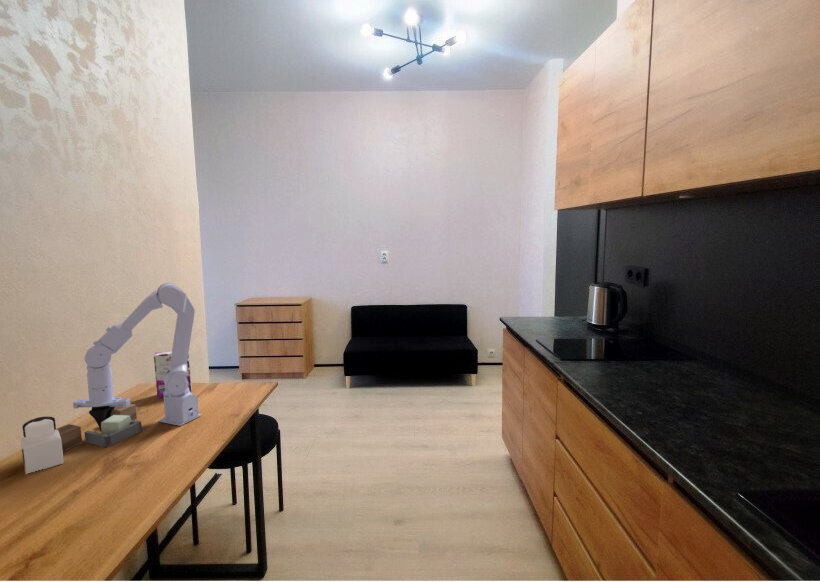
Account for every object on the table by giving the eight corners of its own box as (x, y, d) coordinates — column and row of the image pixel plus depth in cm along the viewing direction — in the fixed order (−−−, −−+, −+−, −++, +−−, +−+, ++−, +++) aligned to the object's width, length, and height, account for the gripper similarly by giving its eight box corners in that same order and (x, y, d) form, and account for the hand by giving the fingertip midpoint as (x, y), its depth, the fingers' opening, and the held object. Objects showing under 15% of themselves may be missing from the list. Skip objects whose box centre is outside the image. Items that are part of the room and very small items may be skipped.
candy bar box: (192, 388, 152) (189, 348, 150) (191, 393, 148) (188, 351, 146) (158, 393, 147) (155, 351, 145) (156, 398, 143) (153, 355, 141)
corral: (142, 431, 118) (141, 421, 117) (107, 447, 108) (106, 437, 108) (120, 426, 121) (119, 417, 120) (85, 442, 111) (84, 432, 111)
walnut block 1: (82, 443, 111) (80, 426, 110) (62, 451, 106) (60, 434, 106) (70, 440, 112) (68, 424, 112) (50, 449, 108) (47, 431, 107)
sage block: (131, 431, 118) (130, 415, 117) (119, 439, 113) (118, 422, 112) (114, 430, 118) (113, 415, 117) (101, 438, 113) (100, 422, 112)
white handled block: (23, 464, 100) (18, 420, 99) (60, 453, 105) (55, 411, 104) (25, 475, 95) (19, 429, 94) (64, 463, 100) (59, 419, 99)
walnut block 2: (136, 419, 126) (135, 404, 125) (121, 426, 121) (119, 410, 121) (125, 417, 127) (124, 402, 127) (110, 423, 123) (108, 408, 122)
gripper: (135, 380, 118) (138, 423, 120) (84, 381, 117) (87, 424, 118) (120, 389, 111) (123, 433, 113) (65, 390, 110) (70, 435, 111)
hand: (104, 430), depth 115 cm, fingers closed
